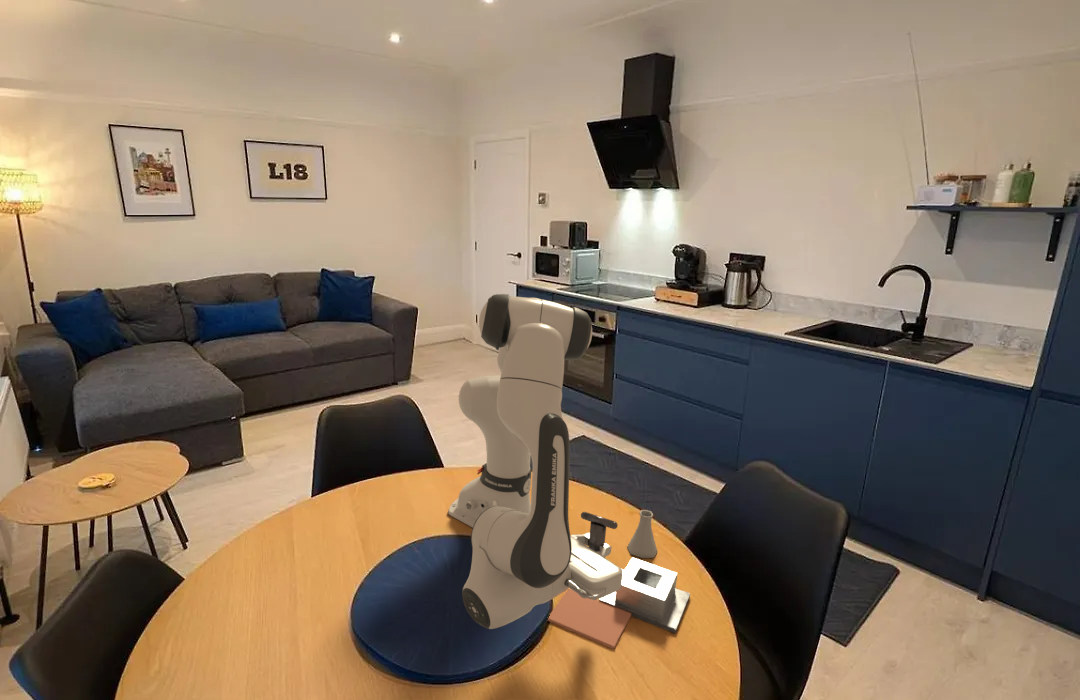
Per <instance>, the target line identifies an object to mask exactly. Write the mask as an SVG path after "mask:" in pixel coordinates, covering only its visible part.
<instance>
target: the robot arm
mask: <svg viewBox="0 0 1080 700" xmlns="http://www.w3.org/2000/svg"><path fill="white" fill-rule="evenodd" d="M478 327H479V331H480V334H481V335H480V337H481V339H482V340H483V342H484V343H485V344H487V345H488V346H491V347H492V348H494V349H495V350H496V351H498V354H497V358H496V359H497V366H498V369H499V371H500V372H501V374H498V375H497V374H495V375H494V374H492V375H482V376H479V377H474V378H470V379H467V380H466V381H464V383H463V384H462V386H461V387H460V390H459V394H458V405H459V408H460V410H461V412H462V414H463V415H464V416H465V418H467V419H468V420H470V421H472V422H473V423H474V424H475V425H476V426H477V427H478V428H479V430H480V431H481V432H482V435H483V437H484V440H485V446H486V447H485V448H486V463H484V464H483V465H481V467H480V468H478V469H477V471H476V472H477V473H476V474H477V475H479V474H480V475H479V476H478V477H476V478H474V479H472V480H471V481H469V482H468V483H466V485H464V486H463V487H462V488H461V490H460V491H459V495H458V498H456V499H455V500H453V502H452V503H451V504H450V506H449V508H448V515H449V516H451V517H452V518H454V519H456V520H458V521H459V522H461V523H464V524H466V525H467V526H469V527H471V528H472V529H471V534H470V541H471V543H470V544H471V548H472V556H471V564H470V565H471V566H470V570H469V576H468V578H467V580H466V582H465V583H464V585H463V587H462V592H461V593H462V595H461V596H462V601H463V605H464V607H465V609H466V611H467V613H468V614H469V616H470V617H471V619H472V620H473V621H474V622H475V623H476V624H478V625H479V626H481V627H483V628H485V629H487V630H493V629H498V628H501V627H504V626H506V625H508V624H511V623H513V622H514V621H516V620H518V619H521V617H524V616H525V615H526V614H528V613H530V612H531V611H532V609H534V607H535V606H537V605H543V604H545V603H548V602H549V601H551V600H552V599H554V598H556V597H558V596H560V595H561V594H563V593H566V592H567V591H568V589H570V590H573V591H575V592H576V593H578V594H579V595H580V596H581V597H582V598H585V599H586V598H588V599H592V600H599V599H600V598H603V597H605V596H607V595H610V594H612V593H614V592H616V591H618V590H619V589H620V588H621V585H622V577H623V574H622V569H623V568H621V567H620V566H618V565H616V564H615V563H614V562H612V561H611V560H609V559H608V558H606V557H607V556H610V555H611V554H612V546H611V545H609V544H608V543H606V542H605V543H604V544H602V545H600V550H599V551H597V552H595V551H594V550H592V549H591V548H589V537H590V531H589V532H586V533H583V534H571V531H570V530H571V529H570V521H569V501H570V500H569V494H570V491H569V489H570V456H571V454H570V446H571V445H570V434H569V429H568V425H567V423H566V422H565V421H564V419H563V413H562V402H563V401H562V400H563V384H564V375H565V374H564V373H565V361H576V360H579V359H580V358H582V357H583V356H584V355H585V354H586V352H587V350H588V349H589V346H590V345H591V342H592V337H593V327H592V319H591V317H590V316H589V314H588V312H586V311H584V310H582V309H581V308H578V307H575V306H572V307H569V306H567V305H563V304H561V303H558V302H555V301H551V300H546V299H541V298H537V297H524V296H523V297H522V296H512V295H511V296H510V294H509V293H508V294H507V293H506V294H505V293H500V294H499V293H498V294H497V293H496V294H493V295H491V296H490V297H489V298H488V299H487V302H485V304H484V305H483V307H482V309H481V310H480V314H479V319H478ZM531 461H532V467H531ZM530 491H531V494H530Z"/></svg>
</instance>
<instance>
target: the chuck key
mask: <svg viewBox="0 0 1080 700" xmlns="http://www.w3.org/2000/svg"><path fill="white" fill-rule="evenodd" d="M580 517H581V519H583V520H585V521H587V522H590V528H589V533H590V537H589V546H588V547H589V548H591V549H592V550H594V551H595V552H597V551H599V550H600V545H602V544H604V543H606V536H607V535H606V533H607V528H609V529H612V530H616V529H617V528H618V523H617V522H616V521H615V520H612V519H608V518H606V517H602V516H599V515H597V514H593V513H590V512H588V511H582V512H581V513H580Z"/></svg>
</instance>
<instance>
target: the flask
mask: <svg viewBox="0 0 1080 700" xmlns="http://www.w3.org/2000/svg"><path fill="white" fill-rule="evenodd" d="M653 517H654V514H653V511H651V510H648V509H641V510H640V511H639V522H638V525H637V528H636V529H635V532H634V533H633V536H632V537H631V539H630V541H629V543H628V544H627V550H628V552H629V553H630V555H632V556H635V557H637V558H641V559H654V558H655V556H656V555H657V553H658V547H657V545H656V540H655V538H654V534H653V533H654V532H653V527H652V518H653Z"/></svg>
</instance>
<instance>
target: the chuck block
mask: <svg viewBox="0 0 1080 700" xmlns="http://www.w3.org/2000/svg"><path fill="white" fill-rule="evenodd" d="M621 569H622V574H623V577H622V585H621V588H620V589H619V590H618V591H616V592H614V593H612V594H610V595H607V596H605V597H603V598H600V599H598V601H601V602H603V603H606V604H609V605H611V606H614V607H616V608H619V609H621V610H624V611H626V612H629V613H631V617H632V618H635V619H638V620H641V621H643V622H646V623H648V624H651V625H653V626H656V627H658V628H660V629H663V630H665V631H668V632H671V633H674V634H676V632H677V630H678V628H679V625H680V623H681V621H682V618H683V615H684V613H685V611H686V607H687V605H688V602H689V600H690V598H691V597H690V596H691V593H690V592H688V591H685V590H681V589H679V588H676V586H677V581H678V579H677V578H678V572H676V571H673V570H670V569H668V568H665V567H661V566H658V565H656V564H654V563H650V562H647V561H644V560H641V559H639V558H635V557H633V556H632V557H631V559H630V560H629V562H628V564H627V566H626V567H625V568H624V569H623V568H621Z"/></svg>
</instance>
